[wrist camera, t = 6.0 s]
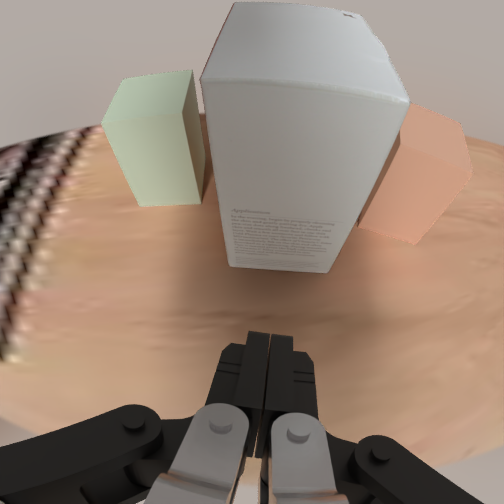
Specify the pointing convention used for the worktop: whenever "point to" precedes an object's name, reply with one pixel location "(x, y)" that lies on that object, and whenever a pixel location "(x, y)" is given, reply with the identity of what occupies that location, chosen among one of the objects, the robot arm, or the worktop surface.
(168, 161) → the sage block
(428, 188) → the terracotta block
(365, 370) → the worktop surface
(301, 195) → the small box
